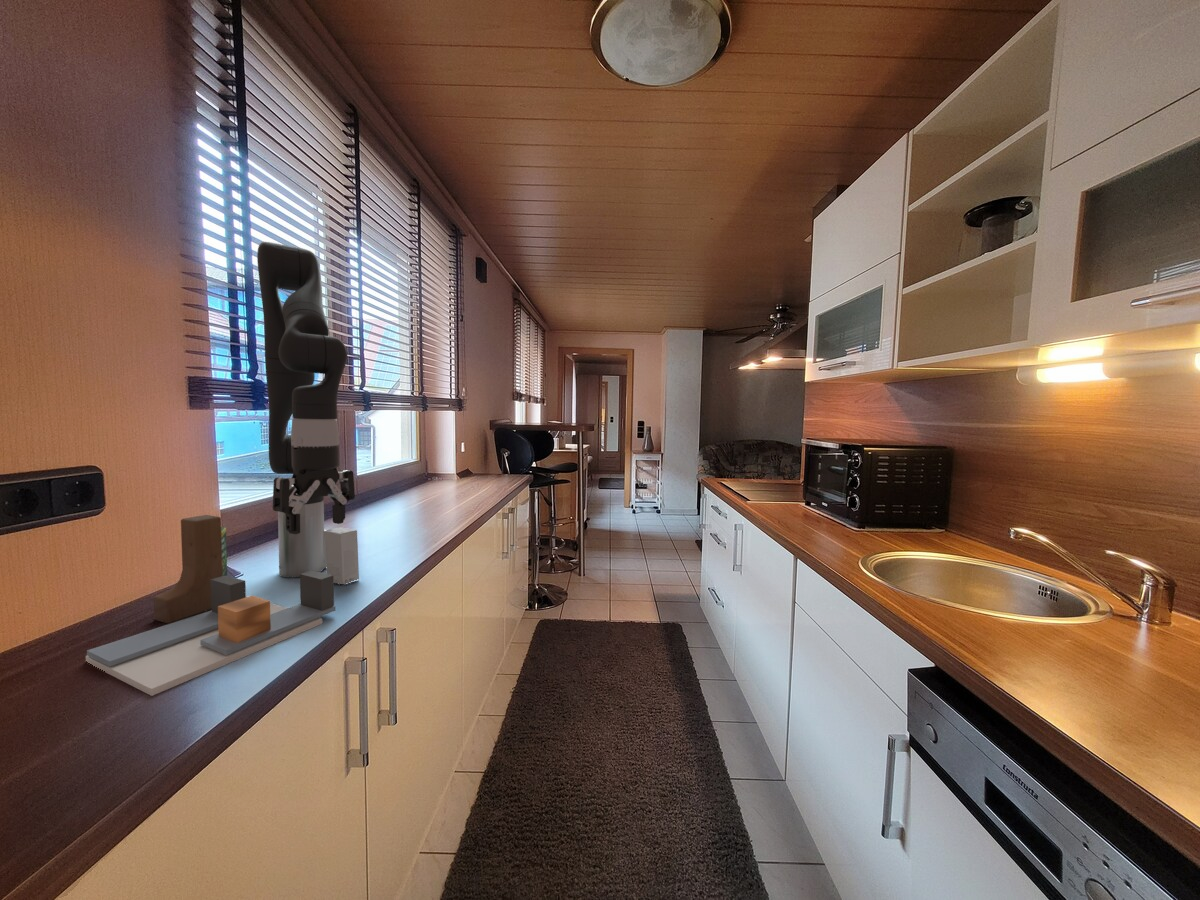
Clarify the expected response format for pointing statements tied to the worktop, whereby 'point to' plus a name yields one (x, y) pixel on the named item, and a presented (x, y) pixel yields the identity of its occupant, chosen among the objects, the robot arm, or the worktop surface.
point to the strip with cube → (288, 612)
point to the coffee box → (224, 551)
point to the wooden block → (193, 570)
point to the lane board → (186, 660)
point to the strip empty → (172, 627)
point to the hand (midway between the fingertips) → (317, 528)
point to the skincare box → (342, 554)
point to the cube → (244, 618)
